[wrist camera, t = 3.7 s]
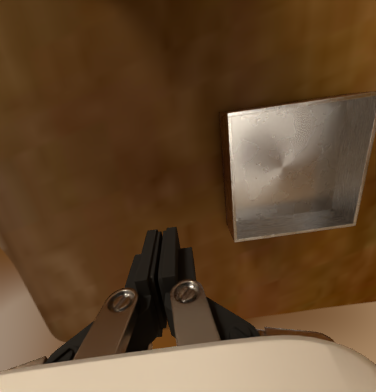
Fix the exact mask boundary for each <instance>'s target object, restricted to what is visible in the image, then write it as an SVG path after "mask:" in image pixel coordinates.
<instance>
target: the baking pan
mask: <svg viewBox="0 0 376 392" xmlns="http://www.w3.org/2000/svg"><path fill="white" fill-rule="evenodd" d="M219 118H220V132H221V147H222V161H223V176H224V190H225V205H226V219H227V226H228V228H229V231H230V233H231V235H232V238H233V240H234V242H241V241H248V240H255V239H262V238H270V237H277V236H284V235H291V234H299V233H306V232H313V231H321V230H328V229H335V228H342V227H350V226H355V225H356V221H357V216H358V211H359V206H360V202H361V197H362V192H363V187H364V183H365V178H366V173H367V169H368V164H369V159H370V154H371V150H372V145H373V140H374V135H375V131H376V91H373V92H361V93H350V94H343V95H336V96H329V97H322V98H315V99H308V100H301V101H294V102H287V103H280V104H273V105H266V106H259V107H252V108H245V109H238V110H231V111H225V112H219Z"/></svg>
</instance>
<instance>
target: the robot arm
mask: <svg viewBox="0 0 376 392" xmlns="http://www.w3.org/2000/svg"><path fill="white" fill-rule="evenodd" d="M167 321H168V325H169V327H170V331H171V335H172V336H174V337H175V338H176V343H177V346H175V347H168V348H160V349H152V342H153V341H154V339H155V338H156V337H162V330H163V328H166V325H167ZM0 392H376V364H374V363H373V362H372V361H370V360H369V359H368V358H366V357H365V356H363V355H362V354H360V353H358V352H356V351H355V350H353V349H350V348H348V347H346V346H343V345H340V344H337V343H335V342H334V341H333V340H332V339H331V338H330V337H328V336H326V335H324V334H322V333H318V332H311V331H301V330H290V329H280V328H270V327H265V330H259V329H255V327H254V326H252V325H251V324H250V323H248V322H247V321H245V320H244V319H242V318H240V317H239V316H237V315H235V314H234V313H232V312H230V311H229V310H227V309H225V308H224V307H222V306H221V305H219V304H217V303H216V302H214V301H212V300H211V299H209V298H207V297H206V295H205V293H204V290H203V287H202V285H201V284H200V283H199V282H198V281H196V275H195V266H194V259H193V252H192V247H190V248H182V249H180V244H179V238H178V233H177V228H176V227H172V228H167V231H164V232H163V237H162V233H161V232H158V230H150V231H147V235H146V238H145V242H144V246H143V250H142V253H141V254H139V255H135V257H134V260H133V263H132V266H131V269H130V272H129V275H128V279H127V282H126V285H125V288H122V289H119V290H117V291H115V292H113V293H112V294H111V295H110V296H109V297H108V298H107V300H106V301H105V303H104V305H103V306H102V308H101V310H100V312H99V313H98V315H97V317H96V319H95V321H93V322H92V323H91V324H90V325H88V326H87V327H86V328H84V329H83V330H82V331H80V332H79V333H78V334H77V335H75V336H74V337H73V338H71V339H70V340H69V341H67V342H66V343H65V344H64V345H62V346H61V347H60V348H59V349H57V350H56V351H55V352H54V353H53V354H52V355H51V356H50V357H49V358H48V359H47V358H46V356H45V357H42V358H39V359H36V360H33V361H30V362H28V363H25V364H22V365H19V366H16V367H13V368H11V369H8V370H4V371H0Z"/></svg>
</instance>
